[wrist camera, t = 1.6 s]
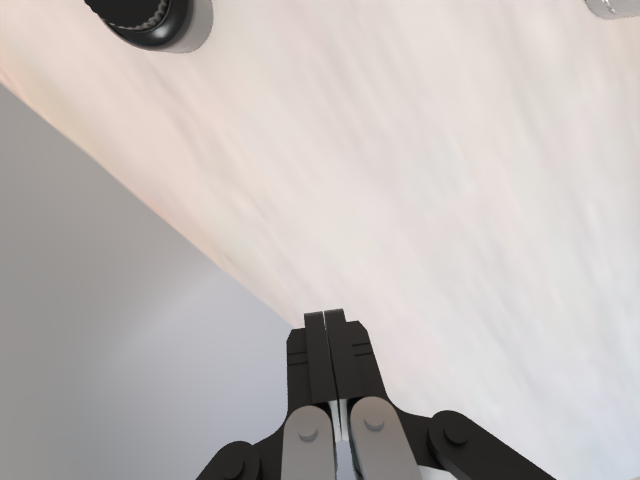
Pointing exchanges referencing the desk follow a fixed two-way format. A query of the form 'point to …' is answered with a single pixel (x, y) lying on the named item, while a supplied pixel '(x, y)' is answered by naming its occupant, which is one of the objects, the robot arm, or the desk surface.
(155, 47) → the supplement bottle
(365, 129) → the desk surface
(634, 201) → the desk surface
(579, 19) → the desk surface
